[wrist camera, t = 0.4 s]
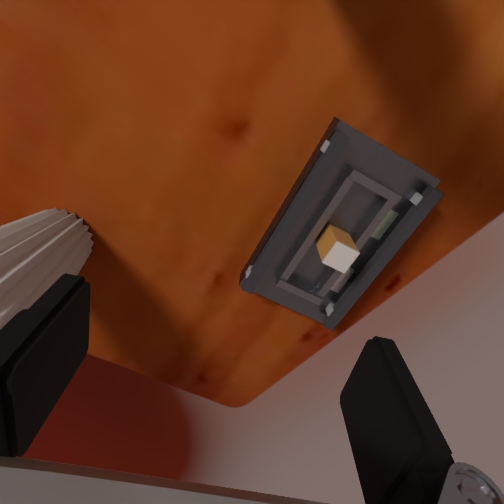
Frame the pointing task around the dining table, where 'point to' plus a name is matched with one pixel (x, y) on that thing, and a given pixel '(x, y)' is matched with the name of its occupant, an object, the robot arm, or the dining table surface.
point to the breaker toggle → (336, 248)
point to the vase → (38, 257)
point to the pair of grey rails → (379, 259)
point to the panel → (339, 221)
